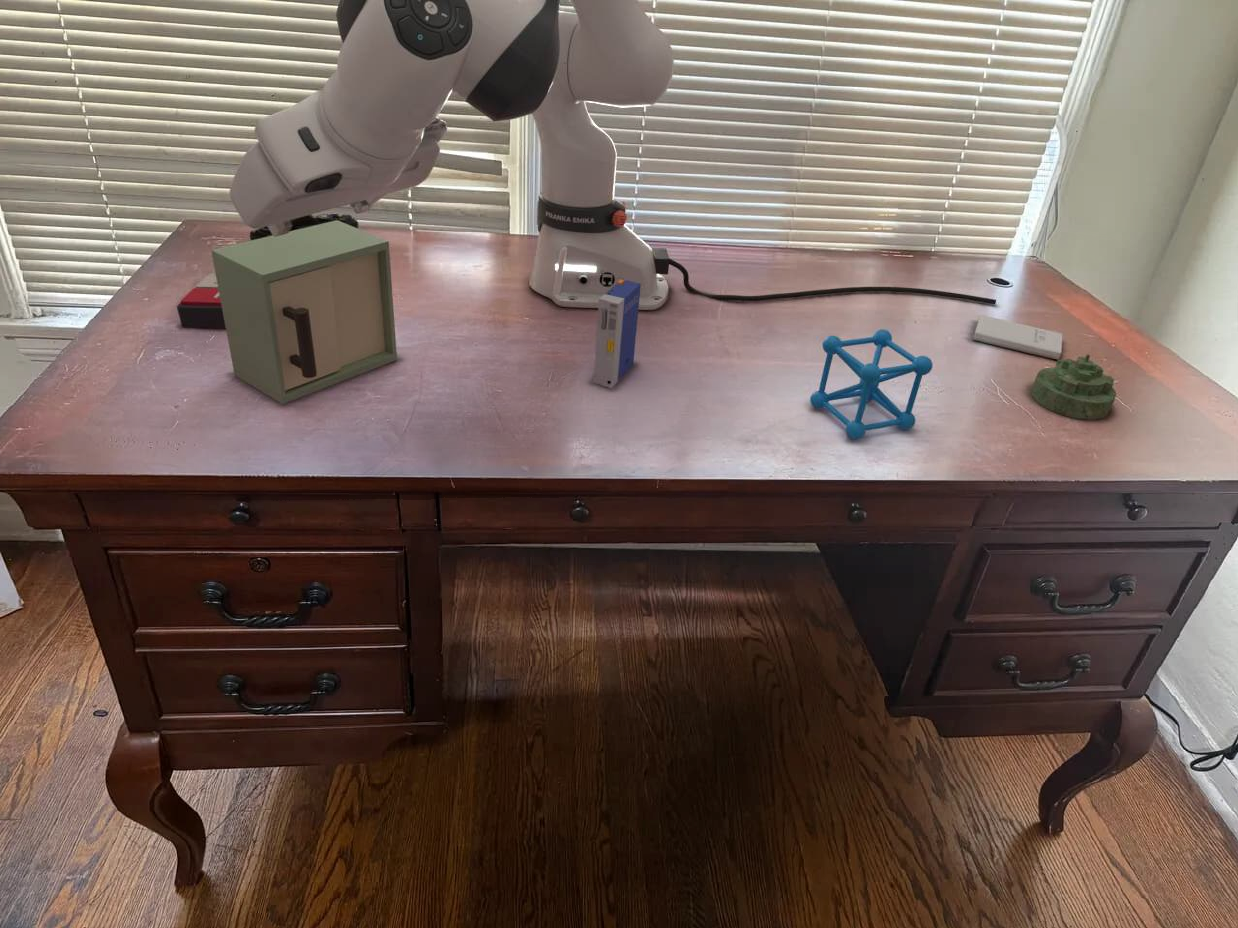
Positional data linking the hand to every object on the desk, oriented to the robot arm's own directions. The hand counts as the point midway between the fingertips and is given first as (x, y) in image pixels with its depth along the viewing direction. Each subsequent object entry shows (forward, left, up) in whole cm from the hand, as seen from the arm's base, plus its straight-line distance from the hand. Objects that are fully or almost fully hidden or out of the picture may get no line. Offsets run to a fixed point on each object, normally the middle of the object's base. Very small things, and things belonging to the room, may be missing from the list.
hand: (318, 217), depth 87 cm
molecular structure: (-62, -15, -24) cm, 68 cm away
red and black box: (+22, -24, -24) cm, 40 cm away
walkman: (-30, -19, -24) cm, 42 cm away
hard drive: (-90, -46, -24) cm, 103 cm away
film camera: (+22, -42, -24) cm, 53 cm away
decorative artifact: (-92, -27, -24) cm, 98 cm away
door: (+4, -5, -22) cm, 23 cm away
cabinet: (+7, -11, -23) cm, 27 cm away
